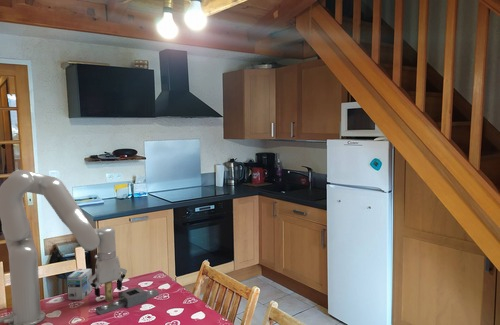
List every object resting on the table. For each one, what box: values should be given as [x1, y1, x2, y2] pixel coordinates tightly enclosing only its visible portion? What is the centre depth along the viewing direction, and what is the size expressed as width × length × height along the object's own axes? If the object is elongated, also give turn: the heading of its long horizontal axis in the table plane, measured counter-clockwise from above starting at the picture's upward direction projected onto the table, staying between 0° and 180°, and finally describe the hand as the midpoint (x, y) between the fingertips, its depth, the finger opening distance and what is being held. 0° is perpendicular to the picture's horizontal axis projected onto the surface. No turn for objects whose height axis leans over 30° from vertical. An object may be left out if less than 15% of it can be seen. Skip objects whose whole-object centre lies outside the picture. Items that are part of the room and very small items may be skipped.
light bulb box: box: [66, 268, 94, 301], centre depth 172 cm, size 11×7×11 cm, turn 179°
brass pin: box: [103, 281, 114, 303], centre depth 166 cm, size 3×3×10 cm
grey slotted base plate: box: [95, 286, 160, 316], centre depth 163 cm, size 27×9×4 cm, turn 133°
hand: (108, 292), depth 166 cm, fingers open, 9 cm apart
